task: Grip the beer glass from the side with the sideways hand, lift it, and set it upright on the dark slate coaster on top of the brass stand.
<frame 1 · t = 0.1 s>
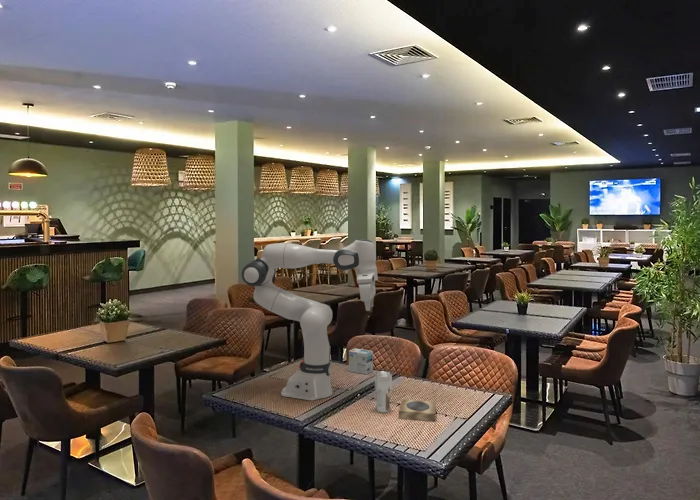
hand: (369, 308, 219), 39 cm above the table, tool pointing down, fingers open, 8 cm apart
brass stand: (417, 413, 204), on the table
beer glass: (383, 410, 208), on the table
light bulb box: (360, 372, 259), on the table
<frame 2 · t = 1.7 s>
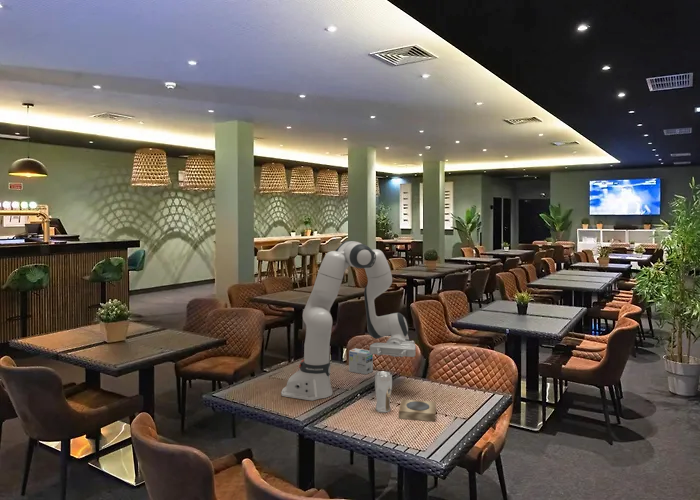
hand: (389, 354, 218), 20 cm above the table, tool horizontal, fingers open, 8 cm apart
nothing on the table moved.
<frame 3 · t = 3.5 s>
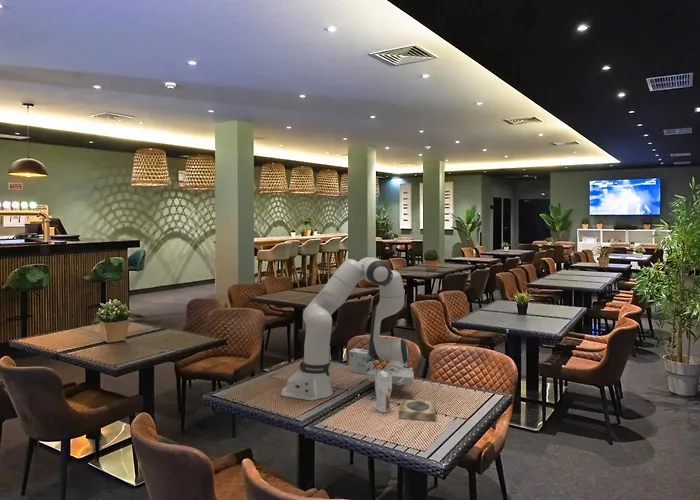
hand: (387, 382, 216), 8 cm above the table, tool horizontal, fingers open, 8 cm apart
nothing on the table moved.
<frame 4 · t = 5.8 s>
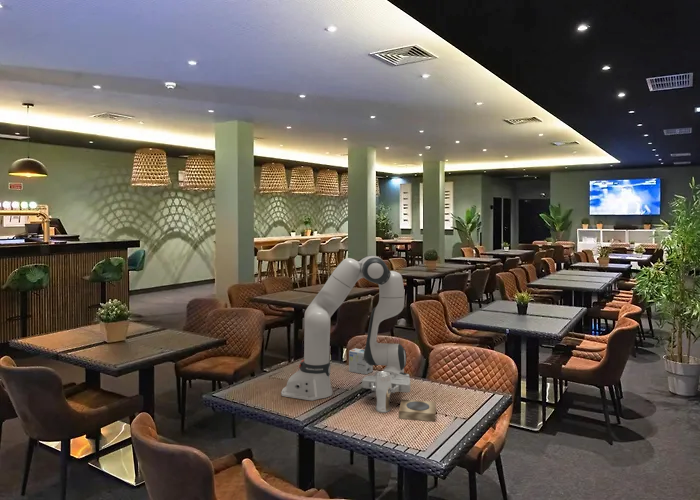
hand: (382, 390, 206), 9 cm above the table, tool horizontal, fingers closed on beer glass, 7 cm apart
beer glass: (383, 410, 208), on the table, touching gripper
everything else where it was.
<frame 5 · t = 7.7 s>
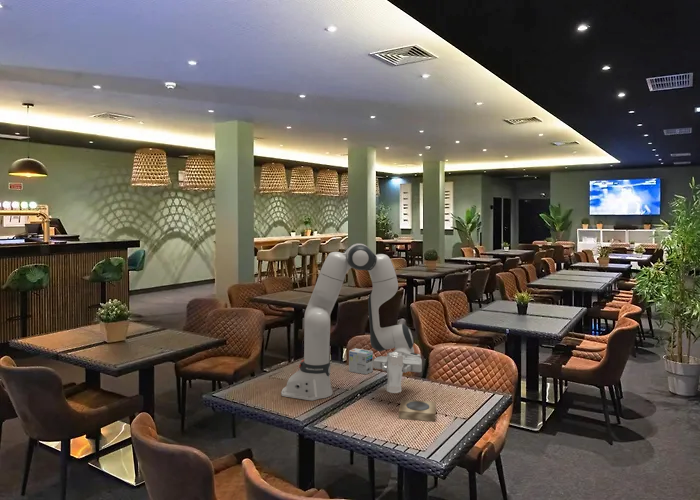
hand: (394, 369, 205), 17 cm above the table, tool horizontal, fingers closed on beer glass, 7 cm apart
beer glass: (393, 391, 206), point 8 cm above the table, touching gripper
everything else where it was.
when the fingers open (13 cm above the table, at t = 9.8 s): beer glass moves 1 cm, resting on brass stand.
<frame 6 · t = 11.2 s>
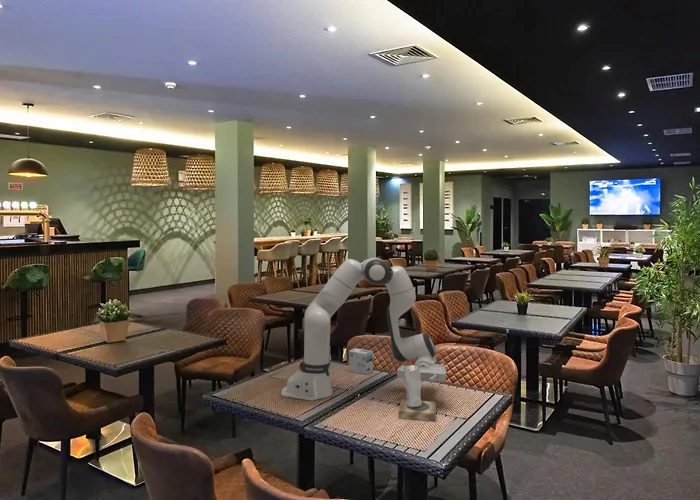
hand: (419, 379, 206), 13 cm above the table, tool horizontal, fingers open, 8 cm apart
beer glass: (414, 404, 204), point 3 cm above the table, touching brass stand
everything else where it was.
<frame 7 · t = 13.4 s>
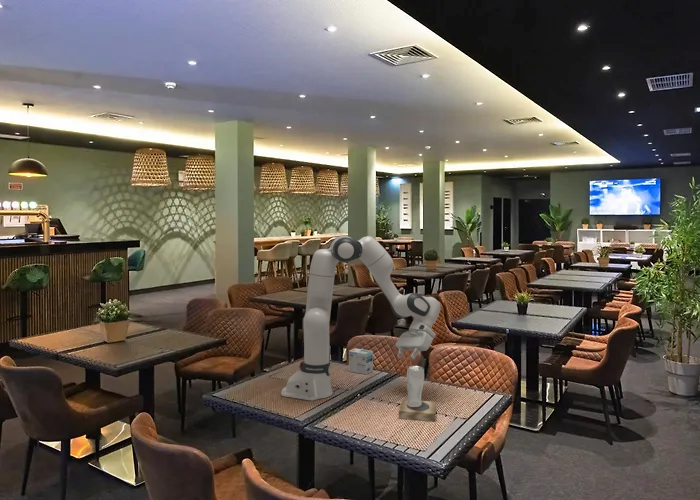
hand: (405, 357, 220), 18 cm above the table, tool tilted 40°, fingers open, 8 cm apart
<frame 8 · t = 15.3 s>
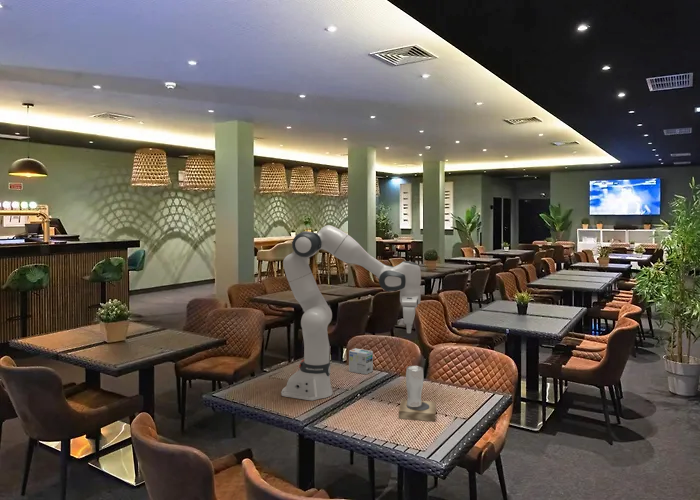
hand: (409, 330, 222), 29 cm above the table, tool pointing down, fingers open, 8 cm apart
nothing on the table moved.
at the end: beer glass 1.5 cm off-centre on the brass stand, point 3.1 cm above the brass stand's base; beer glass tilted 0°; the gripper is holding nothing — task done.
